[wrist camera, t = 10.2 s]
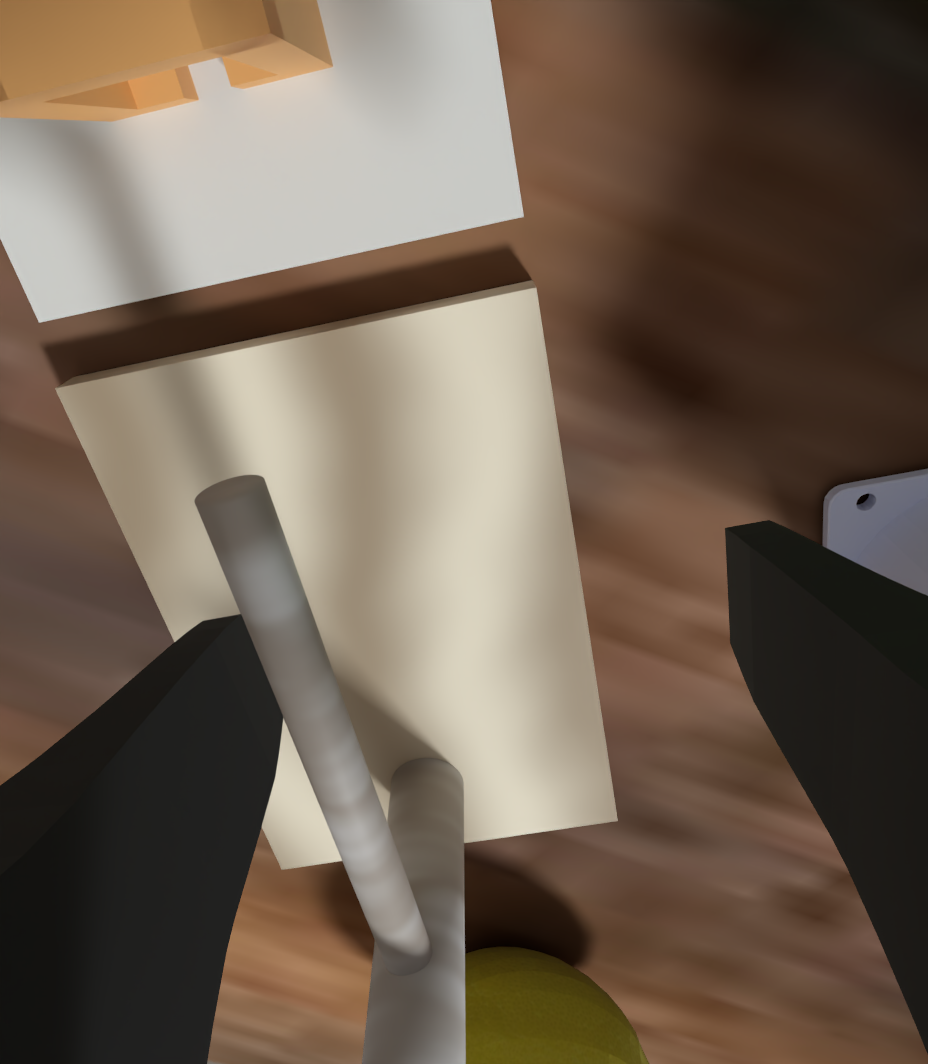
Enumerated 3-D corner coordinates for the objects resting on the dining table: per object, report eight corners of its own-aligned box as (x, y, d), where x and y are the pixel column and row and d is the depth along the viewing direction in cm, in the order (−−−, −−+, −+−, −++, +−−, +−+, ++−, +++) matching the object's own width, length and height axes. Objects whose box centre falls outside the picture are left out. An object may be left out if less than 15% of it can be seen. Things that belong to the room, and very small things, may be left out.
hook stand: (532, 280, 18) (601, 415, 10) (612, 798, 27) (688, 1127, 18) (73, 376, 19) (-249, 579, 11) (287, 846, 28) (207, 1180, 19)
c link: (311, -25, 15) (231, -110, 10) (333, 66, 16) (271, 33, 11) (80, 35, 16) (-116, -15, 10) (112, 122, 16) (-55, 115, 11)
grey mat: (440, -315, 14) (440, -327, 13) (522, 215, 18) (523, 216, 17) (-164, -143, 15) (-179, -150, 14) (47, 319, 19) (39, 322, 18)
